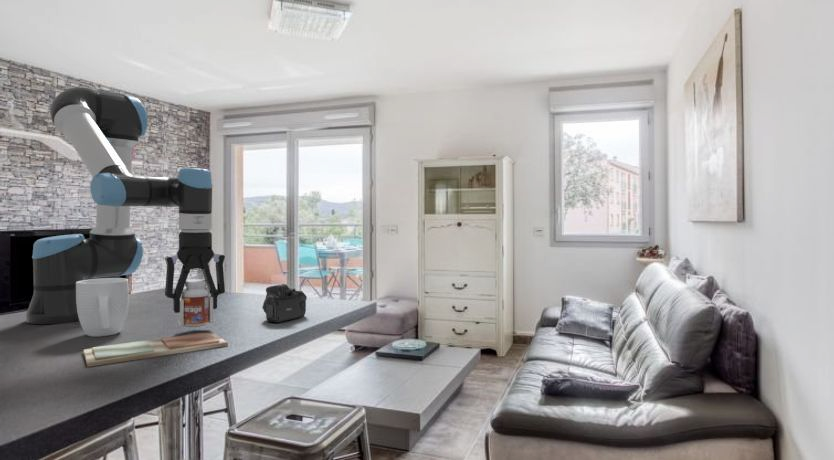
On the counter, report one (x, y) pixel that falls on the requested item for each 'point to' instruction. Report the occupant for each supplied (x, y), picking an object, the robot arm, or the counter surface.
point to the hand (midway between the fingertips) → (195, 323)
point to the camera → (284, 303)
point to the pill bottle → (196, 303)
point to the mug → (102, 305)
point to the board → (151, 348)
